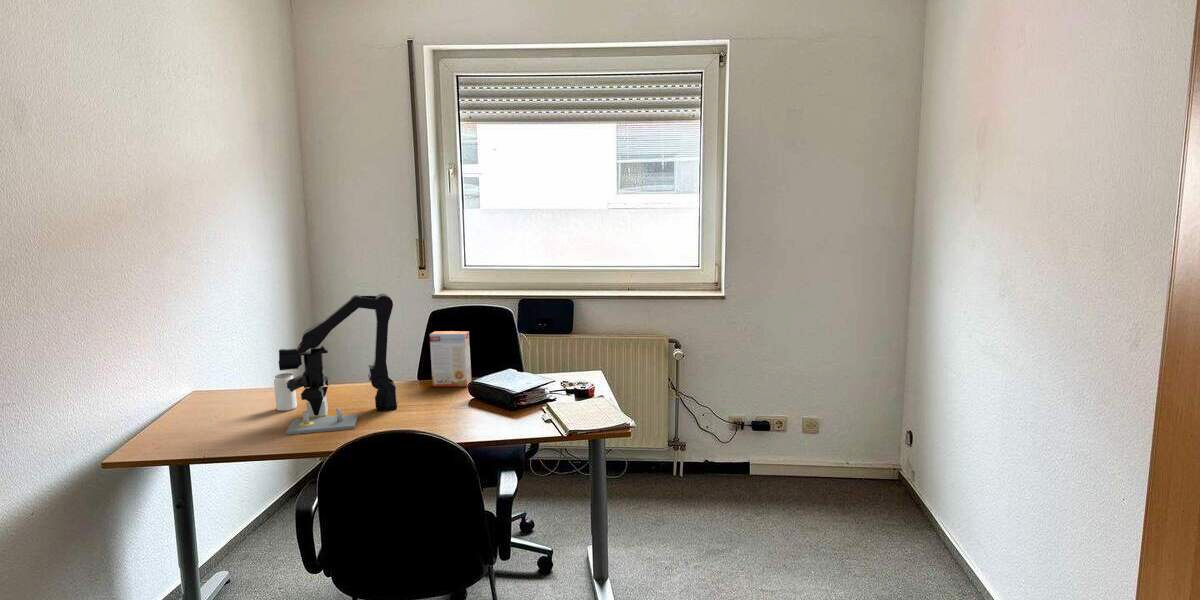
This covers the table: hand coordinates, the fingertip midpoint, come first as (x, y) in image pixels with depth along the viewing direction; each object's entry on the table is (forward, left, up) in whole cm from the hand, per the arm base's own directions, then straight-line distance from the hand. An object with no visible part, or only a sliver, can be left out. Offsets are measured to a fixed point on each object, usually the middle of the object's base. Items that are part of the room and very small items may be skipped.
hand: (317, 412), depth 224 cm
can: (+12, -13, -2) cm, 18 cm away
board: (-3, +10, -2) cm, 11 cm away
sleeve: (0, 0, -2) cm, 2 cm away
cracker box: (-45, -26, -2) cm, 52 cm away
